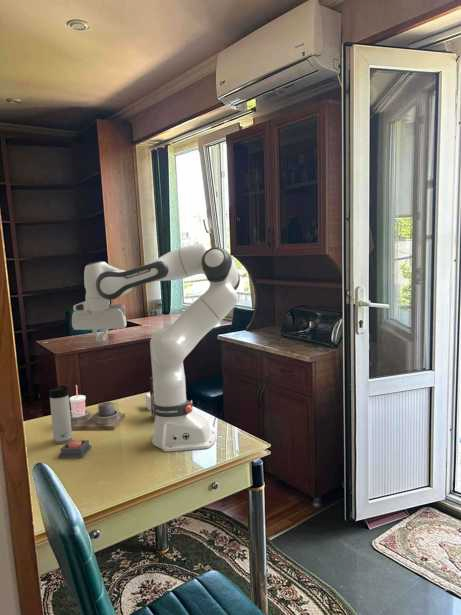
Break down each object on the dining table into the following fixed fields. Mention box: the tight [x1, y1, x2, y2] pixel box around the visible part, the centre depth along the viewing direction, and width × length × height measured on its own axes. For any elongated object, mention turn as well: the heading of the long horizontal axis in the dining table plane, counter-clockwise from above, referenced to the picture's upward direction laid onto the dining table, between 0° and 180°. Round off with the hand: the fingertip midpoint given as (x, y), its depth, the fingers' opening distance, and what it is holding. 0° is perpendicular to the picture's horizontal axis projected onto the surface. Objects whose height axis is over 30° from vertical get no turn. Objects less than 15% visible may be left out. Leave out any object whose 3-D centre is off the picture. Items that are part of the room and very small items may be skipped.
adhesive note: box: [145, 392, 151, 412], centre depth 198 cm, size 6×6×6 cm
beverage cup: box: [69, 384, 87, 417], centre depth 182 cm, size 6×6×14 cm
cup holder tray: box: [70, 401, 126, 431], centre depth 182 cm, size 22×13×8 cm, turn 86°
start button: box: [68, 439, 82, 448], centre depth 157 cm, size 4×4×2 cm
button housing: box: [58, 439, 92, 459], centre depth 157 cm, size 8×8×3 cm
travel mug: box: [49, 385, 73, 445], centre depth 166 cm, size 6×7×20 cm
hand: (100, 340), depth 178 cm, fingers closed
